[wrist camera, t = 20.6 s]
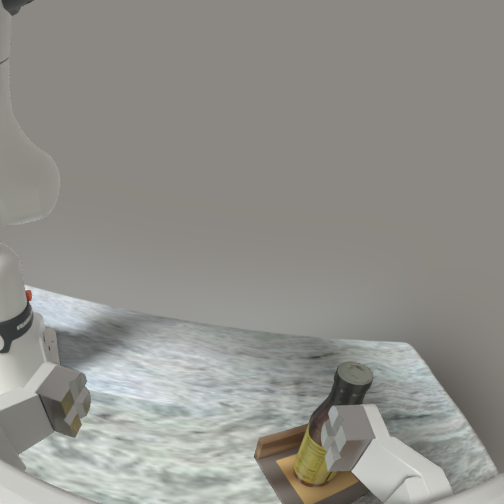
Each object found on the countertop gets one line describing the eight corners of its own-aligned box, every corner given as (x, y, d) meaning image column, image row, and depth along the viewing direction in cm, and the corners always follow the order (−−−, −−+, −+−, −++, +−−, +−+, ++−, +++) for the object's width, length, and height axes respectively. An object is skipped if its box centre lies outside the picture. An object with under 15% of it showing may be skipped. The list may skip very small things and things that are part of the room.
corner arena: (254, 456, 38) (259, 437, 36) (328, 432, 44) (337, 413, 42) (297, 526, 26) (308, 513, 25) (376, 487, 32) (390, 470, 31)
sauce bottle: (322, 453, 38) (368, 351, 33) (339, 483, 33) (398, 382, 27) (282, 462, 36) (319, 357, 31) (297, 494, 31) (348, 394, 25)
